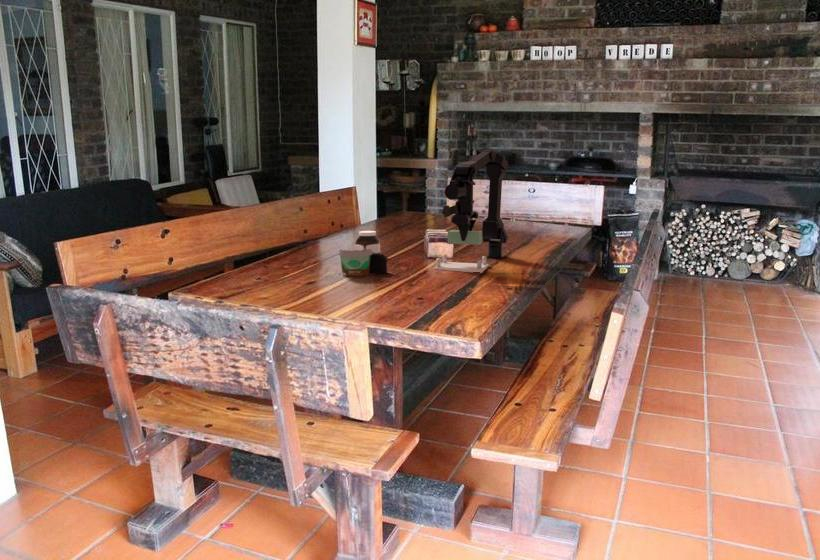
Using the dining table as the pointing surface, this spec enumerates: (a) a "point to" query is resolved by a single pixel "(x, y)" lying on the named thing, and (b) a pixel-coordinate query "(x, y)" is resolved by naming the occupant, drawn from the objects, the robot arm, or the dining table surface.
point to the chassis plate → (461, 265)
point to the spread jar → (367, 242)
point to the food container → (355, 263)
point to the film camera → (378, 263)
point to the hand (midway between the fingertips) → (464, 239)
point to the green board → (471, 237)
